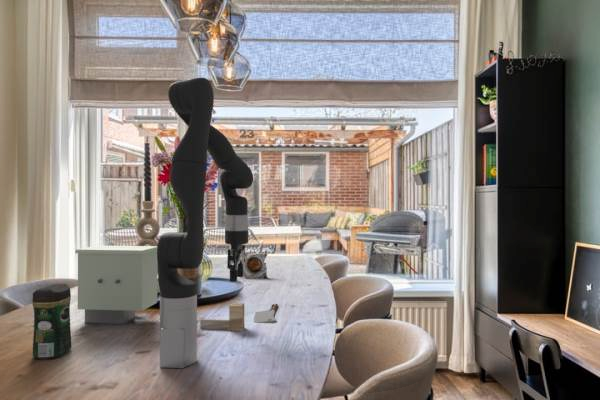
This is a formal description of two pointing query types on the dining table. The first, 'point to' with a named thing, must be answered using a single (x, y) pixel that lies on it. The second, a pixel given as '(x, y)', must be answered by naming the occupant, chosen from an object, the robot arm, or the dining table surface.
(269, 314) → the kitchen cleaver
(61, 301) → the coffee jar
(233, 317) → the wooden mallet
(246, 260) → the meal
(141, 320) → the steel puck
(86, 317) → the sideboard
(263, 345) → the dining table surface
